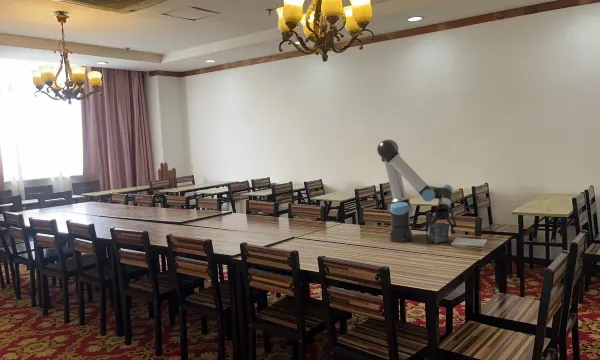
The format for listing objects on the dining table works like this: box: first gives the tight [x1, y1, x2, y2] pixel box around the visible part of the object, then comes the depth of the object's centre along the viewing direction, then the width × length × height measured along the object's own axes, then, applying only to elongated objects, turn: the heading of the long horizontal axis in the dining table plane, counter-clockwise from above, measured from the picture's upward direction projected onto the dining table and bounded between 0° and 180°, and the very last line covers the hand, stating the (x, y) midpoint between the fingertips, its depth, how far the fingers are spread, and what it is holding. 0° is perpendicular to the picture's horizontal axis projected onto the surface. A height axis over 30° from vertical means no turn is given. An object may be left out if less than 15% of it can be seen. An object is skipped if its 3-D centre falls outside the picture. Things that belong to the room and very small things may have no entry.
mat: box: [450, 237, 488, 248], centre depth 283 cm, size 18×14×1 cm
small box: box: [428, 222, 450, 244], centre depth 290 cm, size 11×6×10 cm, turn 107°
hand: (438, 235), depth 289 cm, fingers closed on small box, 12 cm apart
